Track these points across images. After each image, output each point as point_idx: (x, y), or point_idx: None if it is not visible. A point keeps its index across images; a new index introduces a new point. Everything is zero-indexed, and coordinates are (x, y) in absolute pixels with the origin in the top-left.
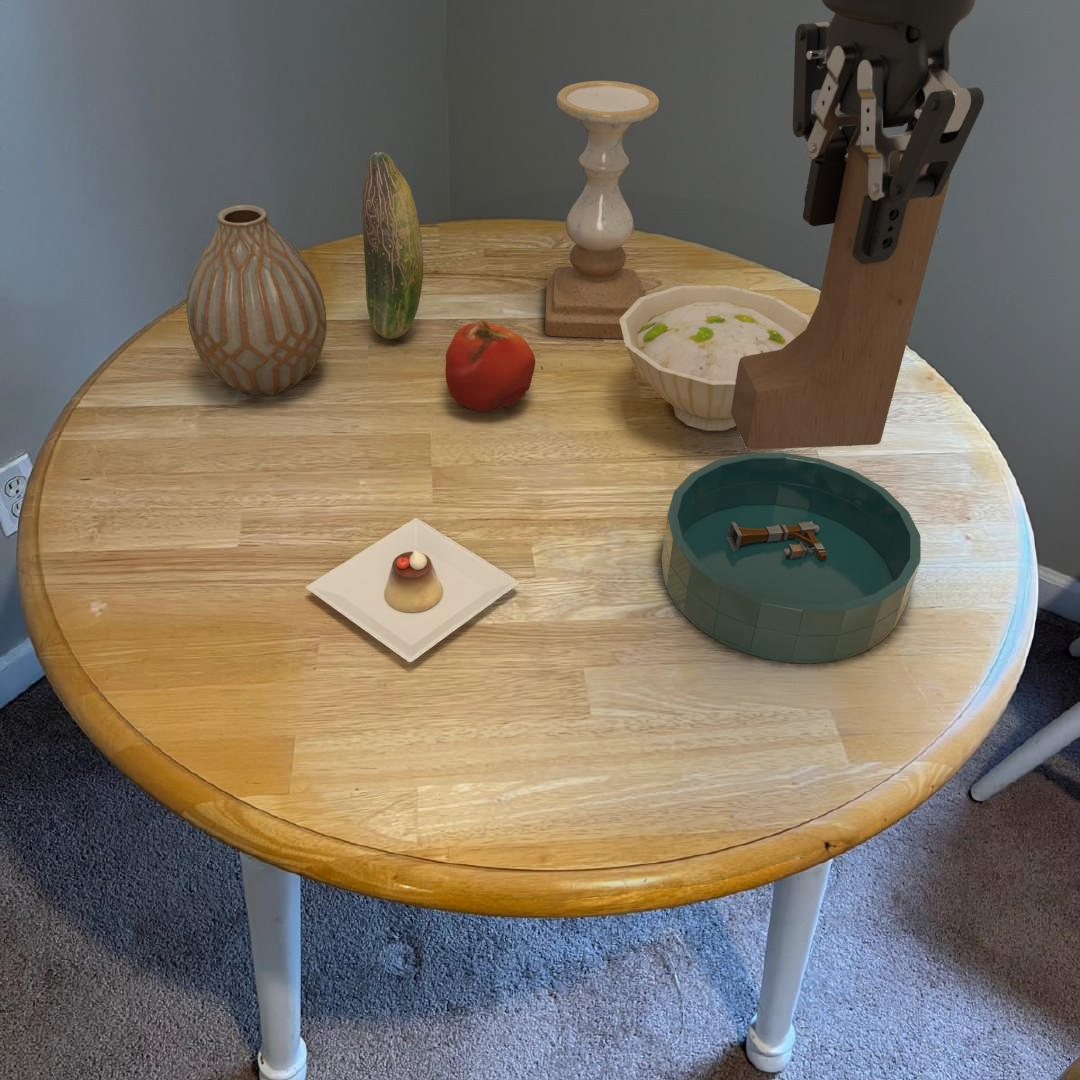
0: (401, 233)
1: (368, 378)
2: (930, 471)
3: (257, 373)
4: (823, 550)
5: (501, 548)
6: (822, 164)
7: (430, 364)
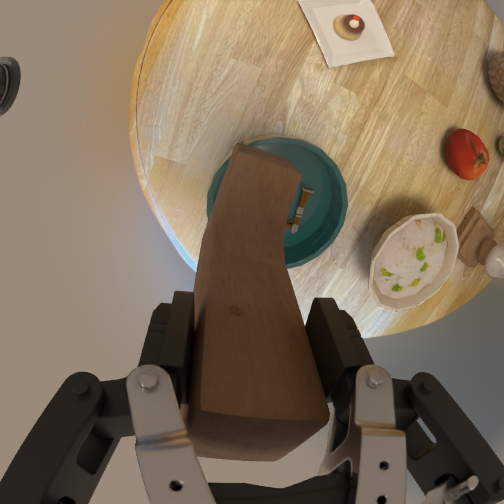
0: None
1: (484, 113)
2: (301, 303)
3: (494, 61)
4: None
5: (361, 80)
6: (341, 371)
7: None
